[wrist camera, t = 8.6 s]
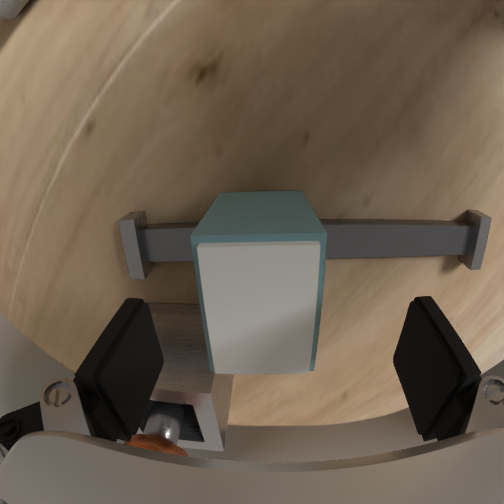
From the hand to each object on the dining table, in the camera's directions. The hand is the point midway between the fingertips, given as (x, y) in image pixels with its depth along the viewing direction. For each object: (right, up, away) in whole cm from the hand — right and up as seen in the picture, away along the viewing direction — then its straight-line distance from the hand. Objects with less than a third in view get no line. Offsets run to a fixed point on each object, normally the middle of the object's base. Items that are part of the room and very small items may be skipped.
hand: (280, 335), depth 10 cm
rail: (+4, +4, +10) cm, 12 cm away
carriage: (0, +4, +11) cm, 11 cm away
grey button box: (-6, -5, +14) cm, 16 cm away
